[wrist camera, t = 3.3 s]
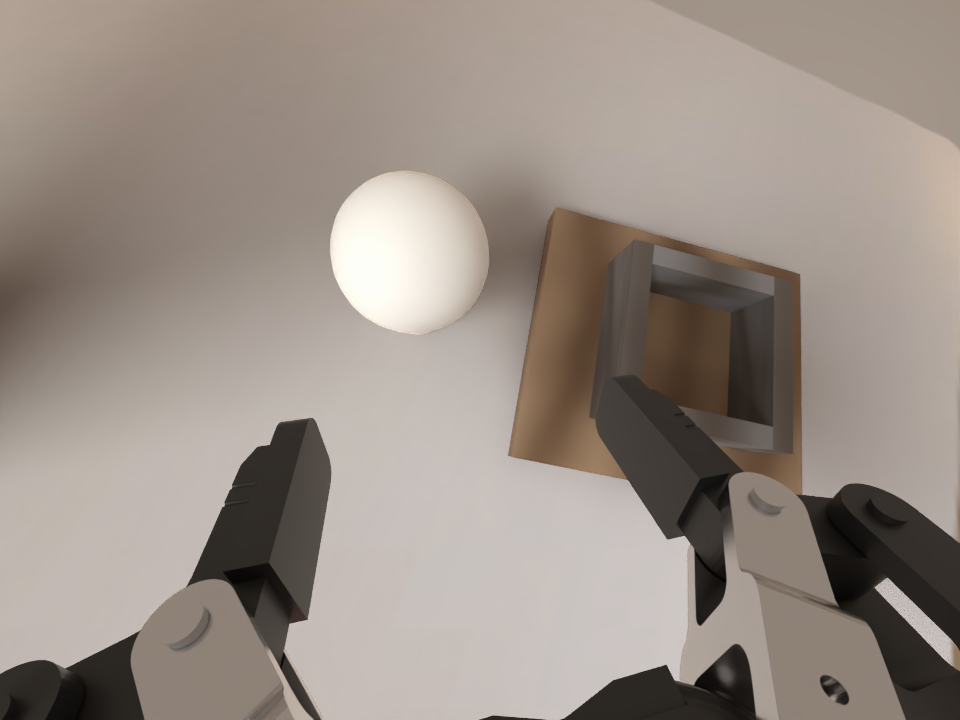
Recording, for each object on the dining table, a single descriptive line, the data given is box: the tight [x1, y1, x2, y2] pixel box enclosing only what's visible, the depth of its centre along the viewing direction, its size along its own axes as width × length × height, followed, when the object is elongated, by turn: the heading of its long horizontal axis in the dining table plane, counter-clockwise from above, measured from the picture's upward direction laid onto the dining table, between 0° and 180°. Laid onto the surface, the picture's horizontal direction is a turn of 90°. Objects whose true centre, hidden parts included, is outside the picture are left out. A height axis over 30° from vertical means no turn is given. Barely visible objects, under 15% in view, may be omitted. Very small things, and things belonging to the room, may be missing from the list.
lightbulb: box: [330, 171, 489, 335], centre depth 16 cm, size 6×6×11 cm
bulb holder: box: [508, 208, 802, 495], centre depth 21 cm, size 18×16×4 cm
